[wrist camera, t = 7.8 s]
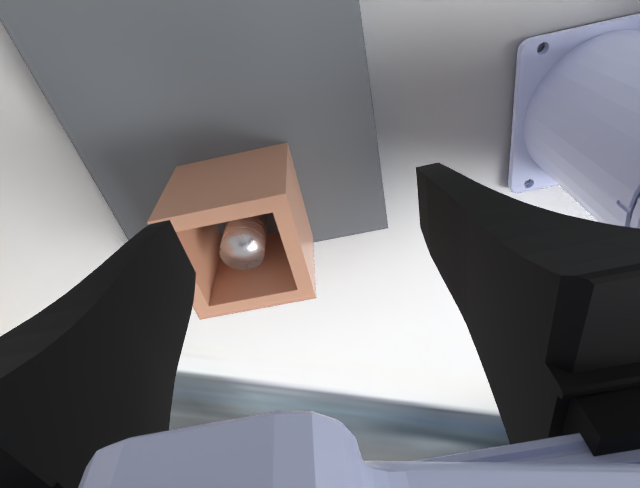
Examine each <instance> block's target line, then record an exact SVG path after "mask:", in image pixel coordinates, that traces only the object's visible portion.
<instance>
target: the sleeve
mask: <svg viewBox="0 0 640 488" xmlns="http://www.w3.org/2000/svg"><path fill="white" fill-rule="evenodd" d="M272 212H273V215H274V218H275V221H276V224H277V227H278V230H279V232H276V233H271V234H266V244H265V254H264V259H263V261H262V262H261V264H260V265H258V266H257V267H255V268H253V269H250V270H237V269H234V268H231V267H229V266H228V265H226V264H225V263H224V262H223V260H222V259H221V257H220V253H219V249H220V245H221V241H222V237H221V235H220V233H219V230H218V228H217V226H216V224H218V223H223V222H228V221H233V220H238V219H243V218H248V217H252V216H257V215H262V214H267V213H272ZM167 220H170V222H171V224H172V226H173V228H174V230H175V232H176V234H177V236H178V238H179V240H180V242H181V244H182V246H183V248H184V250H185V252H186V254H187V256H188V258H189V260H190V262H191V264H192V266H193V268H194V270H195V272H196V281H195V293H194V302H193V308H194V310H195V312H196V314H197V315H198V317H199V319H206V318H211V317H216V316H222V315H227V314H233V313H238V312H244V311H249V310H254V309H260V308H265V307H271V306H276V305H282V304H287V303H292V302H298V301H303V300H309V299H314V298H316V286H315V268H314V250H313V235H312V231H311V228H310V224H309V220H308V216H307V213H306V209H305V205H304V201H303V198H302V194H301V190H300V186H299V183H298V179H297V175H296V171H295V168H294V164H293V160H292V156H291V153H290V149H289V145H288V142H287V143H282V144H278V145H273V146H269V147H264V148H259V149H255V150H250V151H246V152H241V153H236V154H232V155H227V156H223V157H218V158H213V159H209V160H204V161H199V162H195V163H190V164H186V165H181V166H176V168H175V170H174V172H173V174H172V176H171V178H170V180H169V182H168V183H167V185H166V187H165V189H164V191H163V193H162V195H161V197H160V199H159V200H158V202H157V204H156V206H155V208H154V210H153V212H152V214H151V216H150V218H149V219H148V221H147V223H148V225H149V224H153V223H157V222H162V221H167Z"/></svg>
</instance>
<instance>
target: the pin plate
mask: <svg viewBox="0 0 640 488" xmlns="http://www.w3.org/2000/svg"><path fill="white" fill-rule="evenodd" d="M0 20H1V22H2V23H3V25H4V27H5V28H6V30H7V32H8V34H9V35H10V37H11V39H12V40H13V42H14V44H15V46H16V47H17V49H18V51H19V52H20V54H21V56H22V58H23V59H24V61H25V63H26V64H27V66H28V68H29V70H30V71H31V73H32V75H33V76H34V78H35V80H36V82H37V83H38V85H39V87H40V88H41V90H42V92H43V94H44V95H45V97H46V99H47V100H48V102H49V104H50V106H51V107H52V109H53V111H54V112H55V114H56V116H57V118H58V119H59V121H60V123H61V124H62V126H63V128H64V130H65V131H66V133H67V135H68V136H69V138H70V140H71V142H72V143H73V145H74V147H75V148H76V150H77V152H78V154H79V155H80V157H81V159H82V160H83V162H84V164H85V166H86V167H87V169H88V171H89V173H90V174H91V176H92V178H93V179H94V181H95V183H96V185H97V186H98V188H99V190H100V191H101V193H102V195H103V197H104V198H105V200H106V202H107V203H108V205H109V207H110V209H111V210H112V212H113V214H114V215H115V217H116V219H117V221H118V222H119V224H120V226H121V227H122V229H123V231H124V233H125V234H126V236H127V238H128V239H129V240H130V239H131V238H132V237H133V236H135V235H136V234H137V233H138V232H139V231H141V230H142V229H143V228H145V227H146V226H148V223H147V221H148V219H149V218H150V216H151V214H152V212H153V210H154V208H155V206H156V204H157V202H158V200H159V199H160V197H161V195H162V193H163V191H164V189H165V187H166V185H167V183H168V182H169V180H170V178H171V176H172V174H173V172H174V170H175V168H176V166H181V165H186V164H190V163H195V162H199V161H204V160H209V159H213V158H218V157H223V156H227V155H232V154H236V153H241V152H246V151H250V150H255V149H259V148H264V147H269V146H273V145H278V144H282V143H287V142H288V145H289V149H290V153H291V156H292V160H293V164H294V168H295V171H296V175H297V179H298V183H299V186H300V190H301V194H302V198H303V201H304V205H305V209H306V213H307V216H308V220H309V224H310V228H311V231H312V235H313V242H318V241H323V240H328V239H334V238H339V237H344V236H349V235H354V234H360V233H365V232H370V231H375V230H381V229H386V228H388V223H387V215H386V207H385V199H384V192H383V184H382V176H381V168H380V161H379V153H378V145H377V137H376V130H375V122H374V114H373V106H372V99H371V91H370V83H369V75H368V68H367V60H366V52H365V44H364V37H363V29H362V21H361V13H360V5H359V0H0ZM216 226H217V228H218V230H219V233H220V235H221V237H222V241H221V245H220V249H219V253H220V257H221V259H222V260H223V262H224V263H225V264H226V265H228V266H229V267H231V268H234V269H237V270H250V269H253V268H255V267H257V266H258V265H260V264H261V262H262V261H263V259H264V254H265V244H266V234H271V233H276V232H279V230H278V227H277V224H276V221H275V218H274V215H273V212H272V213H267V214H262V215H257V216H252V217H248V218H243V219H238V220H233V221H228V222H223V223H218V224H216Z"/></svg>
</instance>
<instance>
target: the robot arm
mask: <svg viewBox="0 0 640 488" xmlns="http://www.w3.org/2000/svg"><path fill="white" fill-rule="evenodd" d="M543 42H545V47H544V49H543V50H542V51H541V52H539V53H537V48H538V46H539V45H540V44H541V43H543ZM416 172H417V186H418V200H419V213H420V227H421V230H422V233H423V236H424V239H425V242H426V244H427V247H428V250H429V252H430V255H431V257H432V259H433V261H434V263H435V265H436V267H437V268H438V270H439V272H440V274H441V276H442V278H443V280H444V282H445V284H446V285H447V287H448V289H449V291H450V293H451V295H452V297H453V299H454V300H455V302H456V304H457V306H458V308H459V310H460V312H461V314H462V316H463V318H464V320H465V322H466V324H467V327H468V329H469V332H470V334H471V337H472V340H473V342H474V345H475V347H476V350H477V352H478V355H479V357H480V360H481V363H482V366H483V368H484V371H485V374H486V376H487V379H488V382H489V384H490V387H491V390H492V393H493V396H494V398H495V401H496V404H497V407H498V410H499V413H500V415H501V418H502V421H503V424H504V427H505V430H506V433H507V436H508V439H509V442H510V445H505V446H499V447H493V448H487V449H481V450H475V451H469V452H463V453H457V454H451V455H445V456H439V457H433V458H427V459H421V460H415V461H363V459H362V457H361V454H360V450H359V447H358V443H357V440H356V438H355V437H354V436H353V435H352V433H351V432H350V431H349V430H348V429H347V428H346V427H345V425H344V424H343V423H342V422H340V421H338V420H337V419H334V418H331V417H328V416H325V415H322V414H319V413H316V412H312V411H309V410H308V411H275V412H270V413H264V414H258V415H253V416H247V417H242V418H236V419H230V420H225V421H219V422H214V423H208V424H202V425H197V426H191V427H186V428H180V429H174V430H169V422H170V412H171V404H172V396H173V389H174V381H175V376H176V371H177V366H178V362H179V358H180V354H181V350H182V347H183V343H184V339H185V335H186V331H187V327H188V323H189V319H190V315H191V311H192V306H193V302H194V293H195V281H196V272H195V270H194V268H193V266H192V264H191V262H190V260H189V258H188V256H187V254H186V252H185V250H184V248H183V246H182V244H181V242H180V240H179V238H178V236H177V234H176V232H175V230H174V228H173V226H172V224H171V222H170V220H167V221H162V222H157V223H153V224H149V225H148V226H146V227H145V228H143V229H142V230H141V231H139V232H138V233H137V234H136V235H135V236H133V237H132V238H131V239H130V240H129V241H128V242H126V243H125V244H124V245H123V246H122V247H121V248H120V249H119V250H117V251H116V252H115V253H114V254H113V255H112V256H111V257H109V258H108V259H107V260H106V261H105V262H104V263H103V264H102V265H100V266H99V267H98V268H97V269H96V270H94V271H93V272H92V273H91V274H89V275H88V276H87V277H86V278H85V279H83V280H82V281H81V282H80V283H79V284H77V285H76V286H75V287H74V288H72V289H71V290H70V291H69V292H67V293H66V294H65V295H63V296H62V297H61V298H59V299H58V300H56V301H55V302H54V303H52V304H51V305H49V306H48V307H46V308H45V309H44V310H42V311H41V312H39V313H38V314H36V315H35V316H33V317H32V318H30V319H28V320H27V321H25V322H24V323H22V324H20V325H19V326H17V327H15V328H14V329H12V330H10V331H9V332H7V333H5V334H4V335H2V336H1V337H0V488H640V13H638V14H633V15H629V16H625V17H620V18H616V19H611V20H607V21H602V22H598V23H593V24H589V25H584V26H580V27H575V28H571V29H566V30H562V31H557V32H553V33H548V34H544V35H539V36H535V37H530V38H527V39H525V40H524V41H523V42H522V43H521V44H520V46H519V47H518V51H517V63H516V78H515V92H514V106H513V120H512V135H511V149H510V163H509V177H508V187H509V188H510V190H511V191H512V192H514V193H521V192H526V191H531V190H536V189H542V188H547V187H552V186H557V185H560V186H561V187H562V188H563V189H564V190H565V191H566V192H567V193H568V194H569V195H570V196H571V197H573V198H574V199H575V200H576V201H577V202H578V203H579V204H580V205H581V206H582V207H583V208H584V209H585V210H586V211H587V212H589V213H590V214H591V215H592V216H593V217H594V218H595V219H596V220H597V221H598V222H595V221H590V220H586V219H581V218H577V217H572V216H568V215H564V214H560V213H556V212H553V211H549V210H546V209H543V208H540V207H536V206H533V205H530V204H527V203H524V202H522V201H519V200H516V199H514V198H511V197H509V196H506V195H504V194H501V193H499V192H497V191H495V190H492V189H490V188H488V187H486V186H484V185H482V184H480V183H477V182H475V181H473V180H471V179H470V178H468V177H466V176H464V175H462V174H460V173H458V172H456V171H454V170H452V169H450V168H448V167H446V166H444V165H442V164H440V163H434V164H430V165H425V166H420V167H416ZM529 179H531V180H530V182H529V183H528V184H526V185H524V184H525V182H526V181H527V180H529Z"/></svg>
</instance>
